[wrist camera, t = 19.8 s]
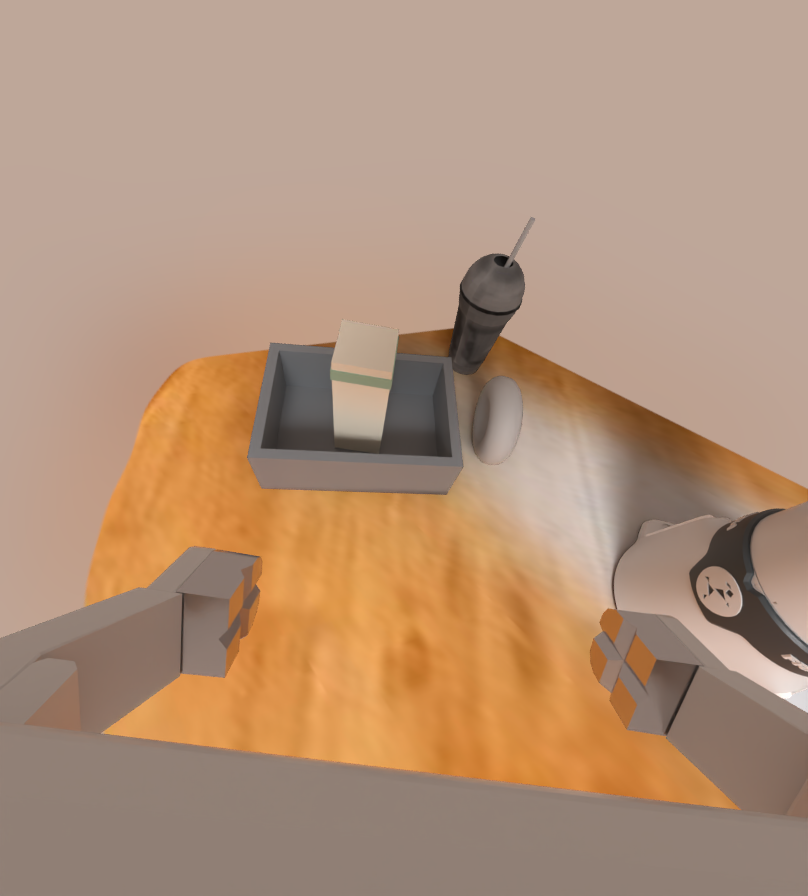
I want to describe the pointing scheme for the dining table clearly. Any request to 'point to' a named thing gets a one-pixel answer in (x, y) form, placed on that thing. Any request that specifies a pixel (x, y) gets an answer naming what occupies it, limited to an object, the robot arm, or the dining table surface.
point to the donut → (497, 420)
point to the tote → (312, 428)
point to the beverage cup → (486, 306)
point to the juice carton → (362, 384)
